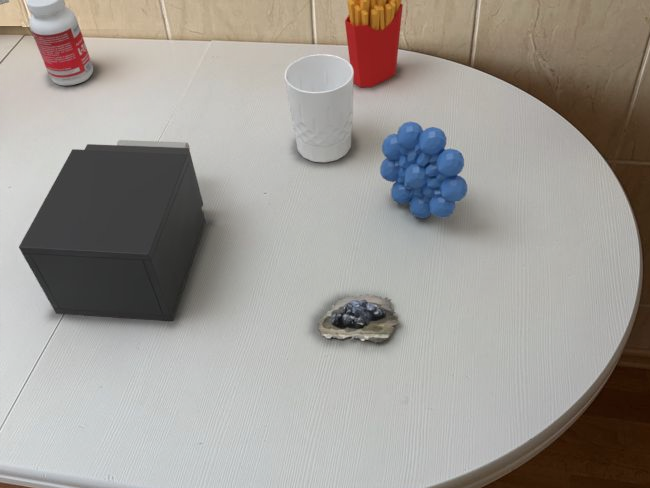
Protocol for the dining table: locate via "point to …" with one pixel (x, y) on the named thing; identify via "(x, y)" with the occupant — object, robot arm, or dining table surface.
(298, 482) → the dining table surface
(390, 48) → the french fries
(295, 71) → the white cup
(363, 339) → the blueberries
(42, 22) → the pill bottle
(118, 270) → the cabinet
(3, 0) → the robot arm
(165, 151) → the drawer
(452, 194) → the grapes
